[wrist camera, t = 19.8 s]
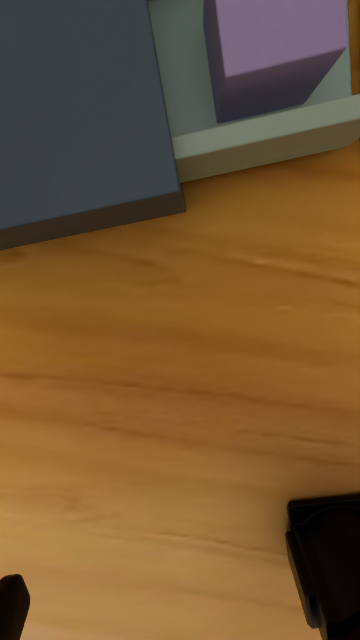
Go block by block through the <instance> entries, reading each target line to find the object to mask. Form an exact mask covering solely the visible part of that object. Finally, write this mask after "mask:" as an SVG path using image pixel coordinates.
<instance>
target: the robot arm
mask: <svg viewBox="0 0 360 640" xmlns="http://www.w3.org/2000/svg"><path fill="white" fill-rule="evenodd" d="M294 509H296V510H294ZM287 511H288V519H289V527H290V530H288V531H287V532H286V534H285V536H286V544H287V552H288V559H289V563H290V566H291V570H292V573H293V577H294V580H295V583H296V587H297V590H298V594H299V597H300V600H301V604H302V607H303V611H304V614H305V618H306V621H307V624H308V625H309V626H310V627H311V628H312V629H315V628H319V631H320V634H321V637H322V640H360V494H358V495H348V496H339V497H330V498H320V499H311V500H301V501H293V502H290V503H289V504H288V505H287ZM29 606H30V594H29V592H28V589H27V587H26V585H25V582H24V580H23V577H22V576H21V575H20V574H14V575H7V576H4V577H3V578H2V579H1V580H0V640H20V637H21V633H22V630H23V627H24V623H25V620H26V617H27V613H28V610H29Z"/></svg>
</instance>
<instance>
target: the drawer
mask: <svg viewBox="0 0 360 640" xmlns="http://www.w3.org/2000/svg"><path fill="white" fill-rule="evenodd" d="M147 1H148V7H149V13H150V18H151V24H152V30H153V36H154V41H155V47H156V53H157V58H158V64H159V70H160V76H161V81H162V87H163V93H164V98H165V104H166V110H167V115H168V121H169V127H170V133H171V138H172V144H173V150H174V155H175V161H176V167H177V173H178V177H179V181H180V183H182V182H187V181H192V180H196V179H201V178H205V177H210V176H215V175H219V174H224V173H229V172H233V171H238V170H242V169H247V168H252V167H256V166H261V165H266V164H270V163H275V162H279V161H284V160H289V159H293V158H298V157H303V156H307V155H312V154H316V153H321V152H326V151H330V150H335V149H340V148H344V147H346V146H348V145H349V144H351V143H352V142H354V141H356V140H357V139H359V138H360V94H356V95H352V91H351V68H350V46H349V23H348V0H346V23H347V48H346V50H345V51H344V52H343V54H342V55H341V56H340V57H339V59H338V60H337V61H336V63H335V64H334V65H333V67H332V68H331V69H330V71H329V72H328V73H327V74H326V76H325V77H324V78H323V80H322V81H321V82H320V84H319V85H318V86H317V87H316V89H315V90H314V91H313V93H312V94H311V95H310V97H309V98H308V99H307V101H306V102H305V103H304V104H300V105H296V106H292V107H288V108H283V109H279V110H275V111H270V112H266V113H262V114H257V115H253V116H249V117H244V118H240V119H236V120H231V121H227V122H223V123H217V120H216V113H215V106H214V99H213V92H212V84H211V77H210V70H209V63H208V56H207V49H206V42H205V35H204V27H203V4H204V0H147Z"/></svg>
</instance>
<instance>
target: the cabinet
mask: <svg viewBox="0 0 360 640" xmlns="http://www.w3.org/2000/svg"><path fill="white" fill-rule="evenodd" d="M183 212H186V206H185V201H184V195H183V189H182V183H180V181H179V177H178V173H177V167H176V161H175V155H174V150H173V144H172V138H171V133H170V127H169V121H168V115H167V110H166V104H165V98H164V93H163V87H162V81H161V76H160V70H159V64H158V58H157V53H156V47H155V41H154V36H153V30H152V24H151V18H150V13H149V7H148V1H147V0H0V250H3V249H8V248H13V247H18V246H23V245H28V244H33V243H37V242H42V241H47V240H52V239H57V238H62V237H67V236H71V235H76V234H81V233H86V232H91V231H96V230H100V229H105V228H110V227H115V226H120V225H125V224H130V223H134V222H139V221H144V220H149V219H154V218H159V217H164V216H168V215H173V214H178V213H183Z"/></svg>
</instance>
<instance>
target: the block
mask: <svg viewBox="0 0 360 640" xmlns="http://www.w3.org/2000/svg"><path fill="white" fill-rule="evenodd" d="M203 27H204V35H205V42H206V49H207V56H208V63H209V70H210V77H211V84H212V92H213V99H214V106H215V113H216V120H217V123H223V122H227V121H231V120H236V119H240V118H244V117H249V116H253V115H257V114H262V113H266V112H270V111H275V110H279V109H283V108H288V107H292V106H296V105H300V104H304V103H305V102H306V101H307V99H308V98H309V97H310V95H311V94H312V93H313V91H314V90H315V89H316V87H317V86H318V85H319V84H320V82H321V81H322V80H323V78H324V77H325V76H326V74H327V73H328V72H329V71H330V69H331V68H332V67H333V65H334V64H335V63H336V61H337V60H338V59H339V57H340V56H341V55H342V54H343V52H344V51H345V50H346V48H347V23H346V0H204V4H203Z"/></svg>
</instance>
